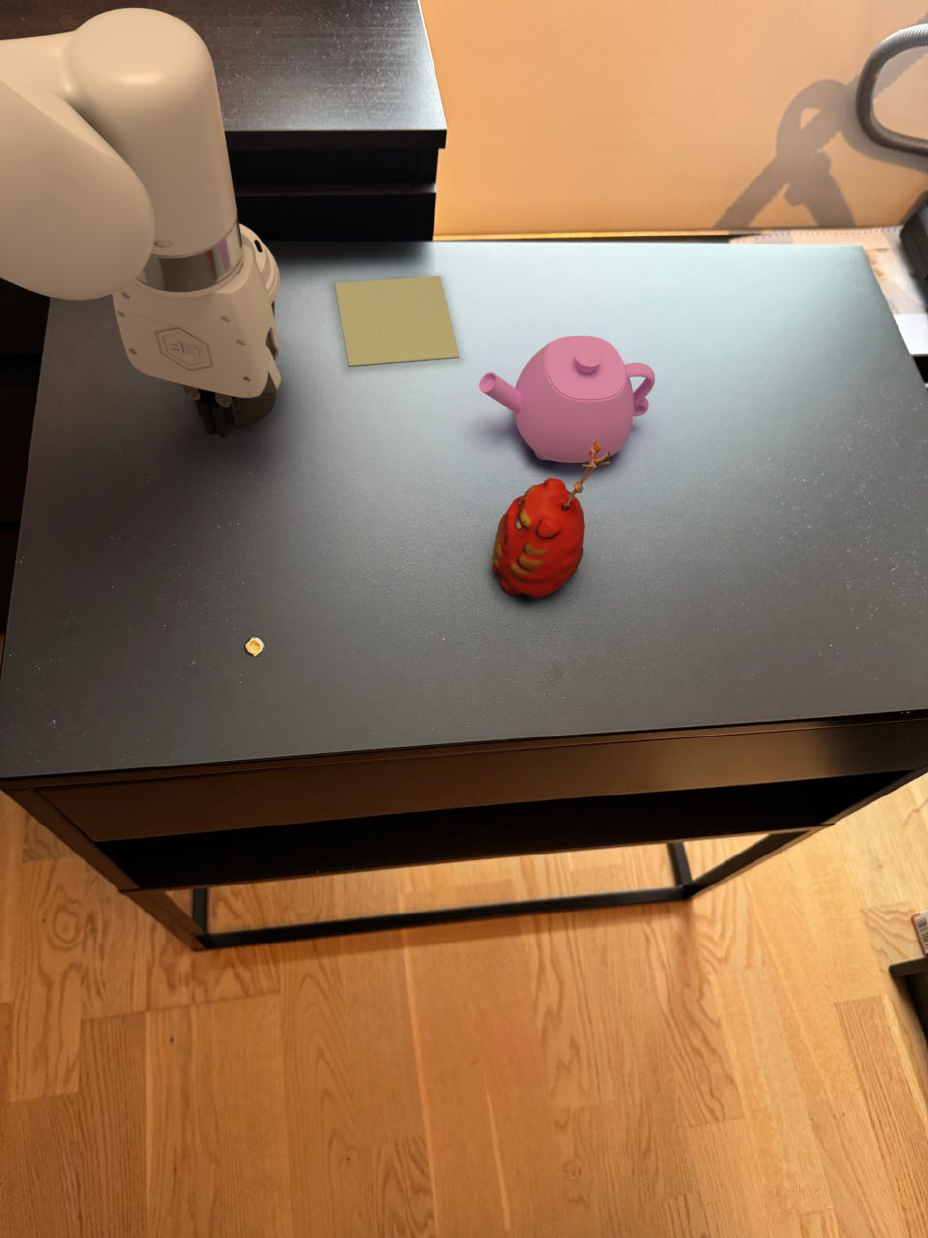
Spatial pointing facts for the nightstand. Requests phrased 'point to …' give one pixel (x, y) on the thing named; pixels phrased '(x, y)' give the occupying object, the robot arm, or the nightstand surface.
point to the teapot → (574, 398)
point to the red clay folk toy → (542, 536)
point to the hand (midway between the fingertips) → (223, 422)
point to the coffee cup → (270, 272)
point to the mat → (395, 321)
